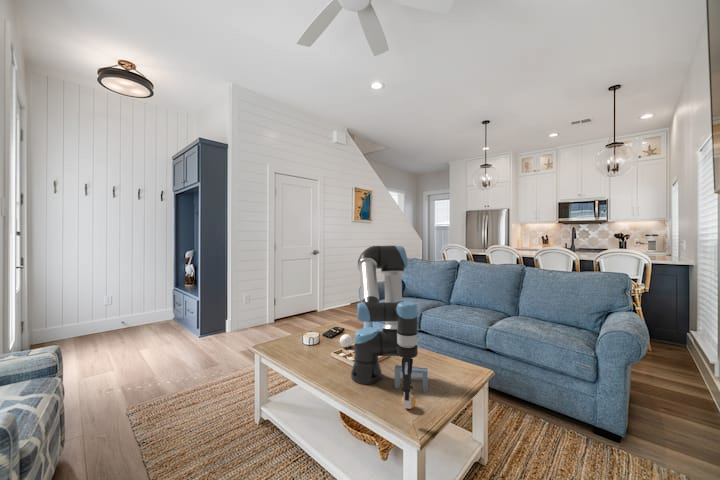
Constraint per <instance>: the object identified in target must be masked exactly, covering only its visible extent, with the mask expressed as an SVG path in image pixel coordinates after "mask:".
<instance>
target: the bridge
mask: <svg viewBox="0 0 720 480" xmlns="http://www.w3.org/2000/svg"><path fill="white" fill-rule="evenodd" d="M428 370H429V369H428V367H419V366H412V372H414V373H423V381H422V392H428ZM400 371H402V365H397V364H395V365H394V388H395V389H400V386H401V379H400Z"/></svg>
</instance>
